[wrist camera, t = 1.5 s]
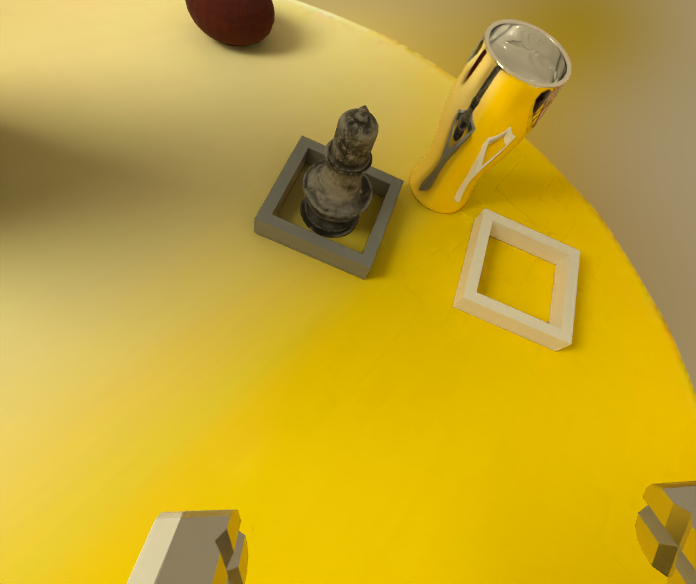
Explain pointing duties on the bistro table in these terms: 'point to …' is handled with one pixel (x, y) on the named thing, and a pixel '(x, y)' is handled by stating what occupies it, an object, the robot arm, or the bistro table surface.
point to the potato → (233, 19)
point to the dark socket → (311, 241)
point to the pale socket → (508, 317)
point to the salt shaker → (341, 177)
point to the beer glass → (490, 110)
